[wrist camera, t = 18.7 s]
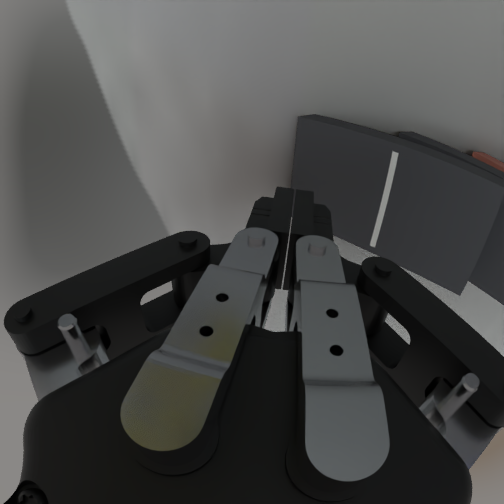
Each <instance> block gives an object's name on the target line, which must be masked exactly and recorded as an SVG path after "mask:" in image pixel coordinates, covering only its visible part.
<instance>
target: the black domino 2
mask: <svg viewBox="0 0 504 504" xmlns="http://www.w3.org/2000/svg"><path fill="white" fill-rule="evenodd" d="M399 138H402V139H405V140H408V141H411V142H414V143H417V144H420V145H422V146H425V147H428V148H431V149H433V150H436V151H439V152H441V153H444V154H446V155H449V156H452V157H454V158H457V159H459V160H461V161H464V162H466V163H469V164H471V165H473V166H475V167H478V168H480V169H482V170H484V171H487V172H489V173H491V174H493V175H495V176H497V177H500V178H502V179H504V172H502V171H500V170H498V169H496V168H494V167H492V166H490V165H488V164H486V163H484V162H482V161H480V160H478V159H476V158H474V157H472V156H469V155H467V154H465V153H463V152H461V151H458V150H456V149H454V148H451V147H449V146H447V145H444V144H442V143H440V142H437V141H435V140H432V139H430V138H427V137H425V136H422V135H419V134H417V133H414V132H399ZM468 281H469V282H471V283H472V284H474V285H475V286H477V287H478V288H480V289H481V290H483V291H484V292H486V293H487V294H489V295H490V296H491V297H493V298H494V299H496V300H497V301H499V302H500V303H501V304H503V305H504V196H503V199H502V201H501V204H500V207H499V210H498V213H497V215H496V218H495V220H494V223H493V226H492V228H491V231H490V233H489V235H488V238H487V240H486V243H485V245H484V247H483V250H482V252H481V254H480V256H479V258H478V261H477V263H476V265H475V267H474V269H473V271H472V273H471V275H470V277H469V279H468Z"/></svg>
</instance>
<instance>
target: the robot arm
mask: <svg viewBox="0 0 504 504" xmlns="http://www.w3.org/2000/svg"><path fill="white" fill-rule="evenodd" d="M293 197H294V189H291V188H283V187H277V188H276V192H275V196H274V198H270V197H261V198H260V199H258V200H257V201H255V204H254V207H253V209H252V212H251V215H250V217H249V220H248V223H247V225H246V228H245V229H243V230H241V231H239V232H238V233H237V234H236V235H235V237H234V239H233V241H232V242H231V243H227V244H218V245H210V239H209V238H208V236H206V235H205V234H203V233H201V232H197V231H183V232H179V233H176V234H174V235H171V236H169V237H166V238H164V239H161V240H159V241H156V242H154V243H151V244H149V245H146V246H144V247H141V248H139V249H137V250H134V251H132V252H129V253H127V254H124V255H122V256H120V257H117V258H115V259H112V260H110V261H108V262H105V263H103V264H101V265H98V266H96V267H94V268H92V269H89V270H87V271H85V272H82V273H80V274H77V275H75V276H73V277H71V278H68V279H66V280H64V281H62V282H60V283H57V284H55V285H53V286H51V287H48V288H46V289H44V290H42V291H39V292H37V293H35V294H33V295H31V296H29V297H26V298H24V299H22V300H20V301H18V302H17V303H15V304H14V305H13V306H12V307H11V308H10V309H9V310H8V311H7V313H6V315H5V318H4V326H5V328H6V330H7V332H8V333H9V335H10V336H11V338H12V340H13V341H14V343H15V344H16V347H17V349H18V351H19V352H20V354H21V355H22V357H23V358H24V359H25V361H26V364H27V368H28V371H29V374H30V377H31V381H32V383H33V387H34V390H35V392H36V395H37V398H38V401H39V402H38V403H37V404H36V405H35V406H34V407H33V409H32V411H31V412H30V414H29V416H28V418H27V420H26V423H25V428H24V435H23V436H24V437H23V442H24V443H23V446H24V454H23V467H22V473H21V479H20V483H19V485H18V487H17V489H16V491H15V492H14V493H13V495H12V496H11V497H10V498H9V499H8V500H7V501H6V502H5V503H4V504H470V502H471V497H472V481H471V476H470V473H469V469H470V468H471V466H472V465H473V464H474V463H475V461H476V460H477V459H478V457H479V456H480V455H481V454H482V452H483V451H484V450H485V448H486V447H487V445H488V444H489V443H490V441H491V440H492V439H493V437H494V436H495V434H496V433H497V432H499V431H500V430H501V429H502V428H504V357H503V356H502V355H501V354H500V353H499V352H498V351H497V350H496V349H495V348H494V347H493V346H492V345H491V344H490V343H489V342H487V341H486V340H485V339H484V338H483V337H482V336H481V335H480V334H479V333H478V332H476V331H475V330H474V329H473V328H472V327H471V326H470V325H469V324H468V323H466V322H465V321H464V320H463V319H462V318H461V317H460V316H458V315H457V314H456V313H455V312H454V311H453V310H452V309H450V308H449V307H448V306H447V305H446V304H445V303H443V302H442V301H441V300H440V299H439V298H437V297H436V296H435V295H434V294H433V293H431V292H430V291H429V290H428V289H427V288H425V287H424V286H423V285H422V284H421V283H419V282H418V281H417V280H416V279H414V278H413V277H412V276H411V275H409V274H408V273H407V272H406V271H404V270H403V269H402V268H401V267H399V266H398V265H397V264H395V263H394V262H392V261H391V260H388V259H386V258H382V257H369V258H366V259H365V260H364V261H363V262H362V265H358V264H356V263H353V262H350V261H348V260H346V259H344V258H343V257H341V256H340V253H339V249H338V246H337V245H336V244H335V243H334V242H333V230H332V220H331V211H330V210H329V209H328V208H327V207H326V205H322V204H315V203H314V192H313V191H306V190H299V189H296V194H295V202H294V210H293V218H292V226H291V233H290V241H289V248H288V256H287V263H286V270H285V277H284V284H283V290H288V297H287V303H286V320H285V332H272V331H269V330H266V329H264V326H265V323H266V320H267V316H268V313H269V310H270V306H271V300H272V297H273V296H274V292H275V289H281V285H282V278H283V272H284V265H285V258H286V251H287V244H288V237H289V229H290V222H291V214H292V206H293ZM169 281H172V288H173V290H172V291H170V292H168V293H166V294H164V295H162V296H160V297H158V298H156V299H154V300H151V301H150V302H147V303H145V304H144V305H141V306H140V301H141V299H142V297H143V295H144V294H145V293H147V292H148V291H150V290H152V289H155V288H157V287H159V286H161V285H163V284H165V283H167V282H169ZM388 313H389V314H390V315H391V316H392V317H394V318H395V319H396V320H397V321H398V322H399V323H400V324H401V325H402V326H403V327H404V328H405V329H406V330H407V331H408V333H409V335H410V345H409V344H408V343H406V342H405V341H404V340H403V339H402V338H401V337H400V336H399V335H398V334H397V333H396V332H395V331H394V330H393V329H392V328H391V327H390V326H389V325H388V324H387V323H386V322H385V319H386V317H387V315H388Z"/></svg>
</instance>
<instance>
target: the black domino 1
mask: <svg viewBox="0 0 504 504" xmlns="http://www.w3.org/2000/svg"><path fill="white" fill-rule="evenodd" d="M291 189H294V197H293V206H292V214H291V217H293V210H294V202H295V194H296V189H299V190H306V191H313V192H314V203H315V204H322V205H326V207H327V208H328V209H329V210H330V211H331V220H332V230H333V235H334V236H336V237H339V238H341V239H343V240H345V241H347V242H350V243H352V244H354V245H356V246H358V247H361V248H363V249H365V250H367V251H369V252H371V253H374V254H376V255H378V256H380V257H382V258H386V259H388V260H391V261H392V262H394V263H395V264H397V265H399V266H401V267H403V268H405V269H407V270H409V271H411V272H413V273H416V274H418V275H420V276H422V277H424V278H426V279H428V280H430V281H432V282H434V283H436V284H438V285H440V286H442V287H444V288H446V289H448V290H450V291H452V292H454V293H456V294H458V295H459V296H460V295H461V293H462V291H463V289H464V287H465V285H466V283H467V281H468V279H469V277H470V275H471V273H472V271H473V269H474V267H475V265H476V263H477V261H478V258H479V256H480V254H481V252H482V250H483V247H484V245H485V243H486V240H487V238H488V235H489V233H490V231H491V228H492V226H493V223H494V220H495V218H496V215H497V213H498V210H499V207H500V204H501V201H502V199H503V196H504V179H502V178H500V177H497V176H495V175H493V174H491V173H489V172H487V171H484V170H482V169H480V168H478V167H475V166H473V165H471V164H469V163H466V162H464V161H461V160H459V159H457V158H454V157H452V156H449V155H446V154H444V153H441V152H439V151H436V150H433V149H431V148H428V147H425V146H422V145H420V144H417V143H414V142H411V141H408V140H405V139H402V138H399V137H396V136H393V135H390V134H386V133H383V132H380V131H377V130H373V129H370V128H366V127H363V126H359V125H355V124H352V123H348V122H344V121H340V120H336V119H332V118H328V117H324V116H320V115H315V114H314V115H307V116H300V117H298V123H297V134H296V144H295V154H294V164H293V173H292V182H291Z"/></svg>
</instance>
